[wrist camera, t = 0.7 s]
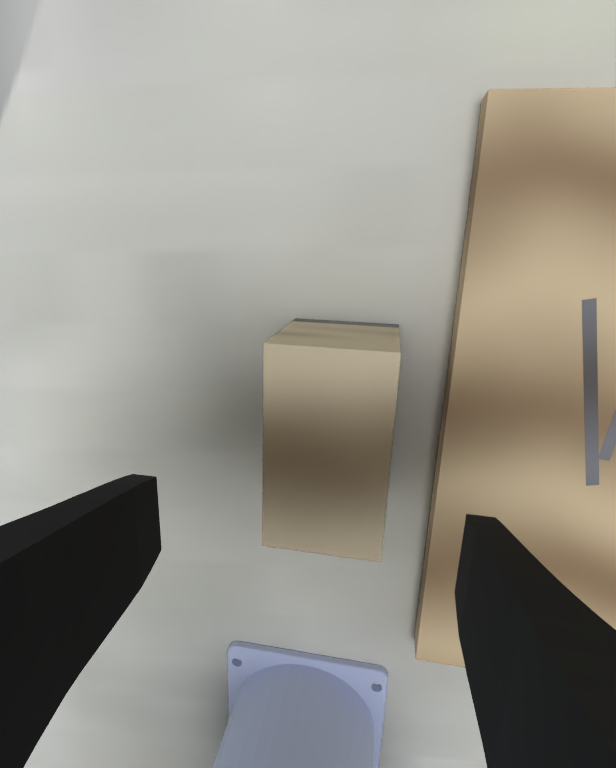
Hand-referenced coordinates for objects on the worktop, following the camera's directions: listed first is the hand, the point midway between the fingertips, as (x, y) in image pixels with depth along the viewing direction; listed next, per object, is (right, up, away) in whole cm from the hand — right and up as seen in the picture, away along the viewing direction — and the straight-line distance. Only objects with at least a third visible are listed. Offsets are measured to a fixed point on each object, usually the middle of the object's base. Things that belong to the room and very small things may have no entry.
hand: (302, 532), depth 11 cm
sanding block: (+2, +3, +8) cm, 9 cm away
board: (+11, +2, +7) cm, 13 cm away
